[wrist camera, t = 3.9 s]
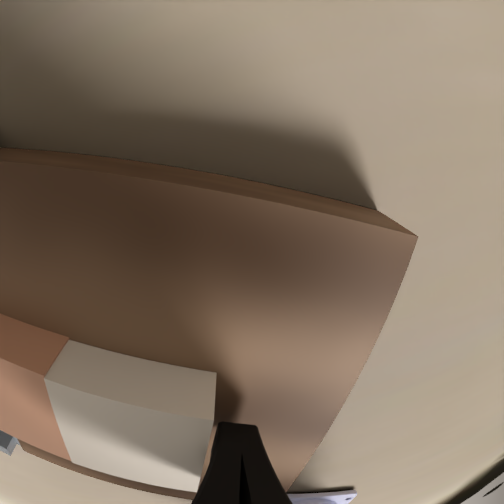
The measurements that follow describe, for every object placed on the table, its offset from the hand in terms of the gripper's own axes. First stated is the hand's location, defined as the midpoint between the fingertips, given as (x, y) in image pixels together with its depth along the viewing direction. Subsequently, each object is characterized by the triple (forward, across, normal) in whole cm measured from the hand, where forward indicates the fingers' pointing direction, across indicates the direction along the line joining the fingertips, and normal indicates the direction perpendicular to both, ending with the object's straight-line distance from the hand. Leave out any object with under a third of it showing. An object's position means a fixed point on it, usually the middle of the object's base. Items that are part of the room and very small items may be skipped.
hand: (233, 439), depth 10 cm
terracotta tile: (+1, +8, 0) cm, 9 cm away
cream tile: (+1, +4, 0) cm, 4 cm away
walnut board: (+4, +4, 0) cm, 5 cm away
